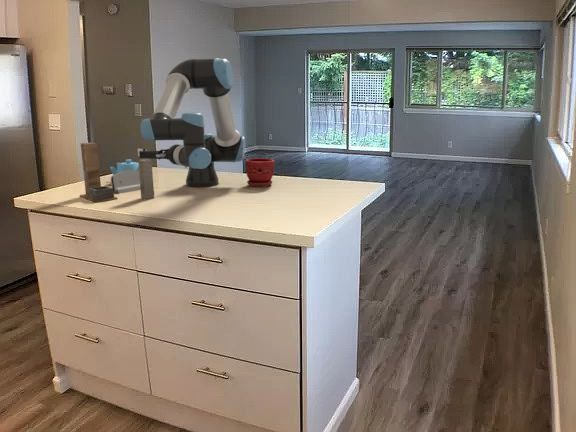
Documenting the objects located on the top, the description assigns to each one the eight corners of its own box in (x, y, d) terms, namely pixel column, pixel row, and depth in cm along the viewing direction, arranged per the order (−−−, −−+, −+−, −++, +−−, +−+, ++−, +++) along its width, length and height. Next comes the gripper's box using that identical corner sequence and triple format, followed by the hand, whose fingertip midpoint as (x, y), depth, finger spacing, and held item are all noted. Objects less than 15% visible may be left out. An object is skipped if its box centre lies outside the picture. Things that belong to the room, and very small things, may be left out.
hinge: (118, 193, 248) (112, 171, 248) (113, 196, 251) (106, 174, 251) (150, 187, 260) (144, 166, 260) (145, 190, 263) (139, 169, 263)
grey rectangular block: (154, 198, 238) (151, 160, 234) (145, 199, 235) (142, 161, 232) (149, 196, 241) (147, 159, 237) (141, 198, 238) (138, 160, 235)
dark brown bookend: (117, 199, 237) (112, 144, 232) (95, 202, 231) (89, 146, 226) (101, 193, 250) (96, 141, 244) (79, 196, 244) (74, 143, 238)
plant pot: (269, 188, 254) (268, 161, 251) (241, 187, 258) (240, 161, 255) (278, 183, 266) (278, 157, 263) (252, 182, 270) (251, 157, 267)
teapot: (143, 184, 271) (141, 161, 268) (111, 184, 270) (109, 162, 267) (148, 178, 285) (147, 157, 283) (118, 179, 284) (116, 157, 282)
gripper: (151, 168, 202) (125, 163, 218) (210, 162, 218) (183, 157, 234) (149, 147, 201) (124, 143, 217) (209, 142, 216) (181, 139, 232)
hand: (154, 150), depth 225 cm, fingers open, 13 cm apart
